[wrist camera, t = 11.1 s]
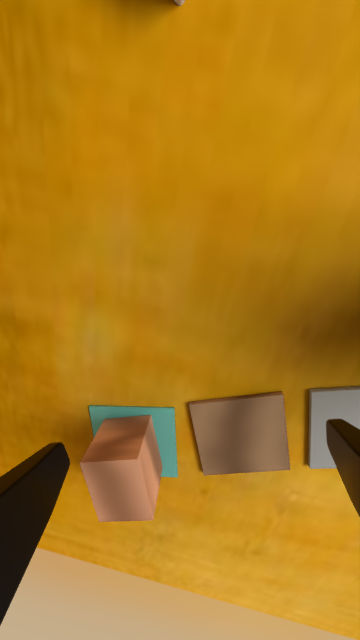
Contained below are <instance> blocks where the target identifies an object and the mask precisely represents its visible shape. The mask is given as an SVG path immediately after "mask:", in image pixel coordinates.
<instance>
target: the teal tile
mask: <svg viewBox="0 0 360 640" xmlns="http://www.w3.org/2000/svg"><path fill="white" fill-rule="evenodd" d="M89 411H90V417H91V423H92V429H93V435H94V437H95V435H96V433H97V431H98V430H99V428H100V426H101V424H102V423H103V421H104V419H107V418H119V417H131V416H142V415H151V417H152V421H153V426H154V430H155V435H156V439H157V443H158V448H159V452H160V457H161V461H162V466H163V468H162V473H161V477H178V469H177V450H176V430H175V411H174V407H140V406H101V405H90V406H89Z"/></svg>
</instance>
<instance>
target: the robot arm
mask: <svg viewBox="0 0 360 640" xmlns="http://www.w3.org/2000/svg"><path fill="white" fill-rule="evenodd" d="M326 437H327V445H328V449H329V451H330V453H331V456H332V458H333V460H334V463H335V465H336V467H337V469H338V472H339V474H340V476H341V479H342V481H343V483H344V485H345V488H346V490H347V492H348V494H349V497H350V499H351V501H352V503H353V505H354V507H355V509H356V511H357V513H358V515H359V516H360V429H358V428H357V427H355V426H353V425H352V424H350V423H348V422H346V421H345V420H343V419H328V420H327V421H326ZM69 465H70V460H69V457H68V454H67V452H66V449H65V447H64V445H63V443H61V442H55V443H50V444H48V445H47V446H45V447H44V448H42V449H41V450H39V451H38V452H36V453H35V454H33V455H32V456H30V457H29V458H28V459H26V460H25V461H23V462H22V463H20V464H19V465H17V466H16V467H14V468H13V469H11V470H10V471H9V472H7V473H6V474H4V475H3V476H1V477H0V625H1V623H2V621H3V619H4V616H5V614H6V612H7V610H8V608H9V606H10V603H11V601H12V599H13V597H14V595H15V593H16V591H17V588H18V586H19V584H20V582H21V580H22V577H23V575H24V573H25V571H26V569H27V567H28V565H29V562H30V560H31V558H32V556H33V554H34V552H35V549H36V547H37V545H38V543H39V541H40V539H41V536H42V534H43V532H44V530H45V528H46V525H47V523H48V521H49V519H50V517H51V514H52V512H53V509H54V507H55V504H56V501H57V499H58V496H59V493H60V490H61V488H62V485H63V482H64V480H65V477H66V474H67V471H68V469H69Z"/></svg>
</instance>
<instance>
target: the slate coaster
mask: <svg viewBox="0 0 360 640" xmlns="http://www.w3.org/2000/svg"><path fill="white" fill-rule="evenodd" d="M328 419H343V420H345V421H346V422H348V423H350V424H352V425H353V426H355V427H357V428H358V429H360V386H356V387H339V388H321V389H310V400H309V448H308V465H309V467H310V469H318V468H337V467H336V465H335V463H334V460H333V458H332V456H331V453H330V451H329V449H328V445H327V437H326V421H327V420H328Z"/></svg>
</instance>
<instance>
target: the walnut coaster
mask: <svg viewBox="0 0 360 640" xmlns="http://www.w3.org/2000/svg"><path fill="white" fill-rule="evenodd" d="M189 408H190V412H191V417H192V422H193V427H194V431H195V436H196V441H197V446H198V450H199V455H200V460H201V464H202V469H203V474H204V475H217V474H232V473H248V472H263V471H279V470H290V463H289V452H288V441H287V430H286V419H285V408H284V396H283V393H282V392H273V393H264V394H255V395H246V396H237V397H228V398H219V399H210V400H201V401H192V402H189Z"/></svg>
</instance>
